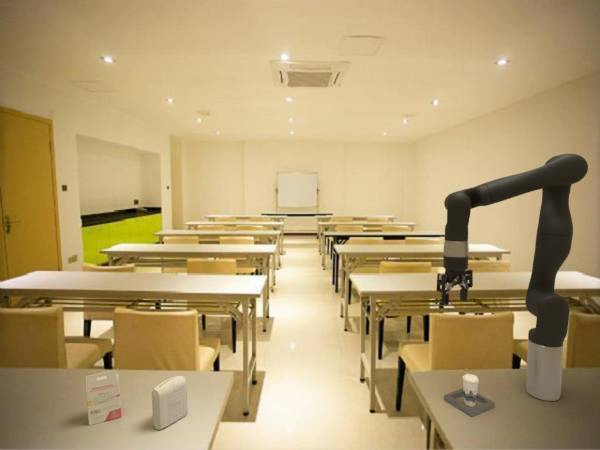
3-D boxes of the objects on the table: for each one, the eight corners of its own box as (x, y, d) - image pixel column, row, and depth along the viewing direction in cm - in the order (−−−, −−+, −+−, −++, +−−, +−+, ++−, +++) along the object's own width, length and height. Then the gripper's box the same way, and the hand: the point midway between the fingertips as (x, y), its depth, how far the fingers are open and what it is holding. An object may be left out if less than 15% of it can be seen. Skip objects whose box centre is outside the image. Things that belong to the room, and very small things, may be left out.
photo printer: (181, 409, 115) (179, 370, 113) (190, 414, 112) (188, 374, 111) (150, 427, 106) (148, 385, 105) (159, 432, 104) (157, 390, 103)
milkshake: (472, 398, 118) (473, 367, 117) (480, 408, 113) (482, 376, 112) (458, 398, 118) (459, 367, 117) (465, 408, 113) (466, 376, 112)
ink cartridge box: (121, 408, 115) (118, 363, 114) (121, 417, 111) (118, 370, 109) (89, 416, 112) (85, 369, 110) (88, 426, 107) (84, 376, 106)
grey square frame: (466, 391, 122) (466, 386, 122) (494, 407, 113) (494, 402, 113) (444, 399, 117) (444, 395, 117) (471, 416, 108) (471, 411, 108)
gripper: (461, 250, 129) (459, 296, 130) (430, 254, 122) (430, 303, 124) (480, 253, 122) (479, 302, 124) (449, 258, 115) (448, 309, 117)
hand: (454, 302), depth 124 cm, fingers open, 8 cm apart
